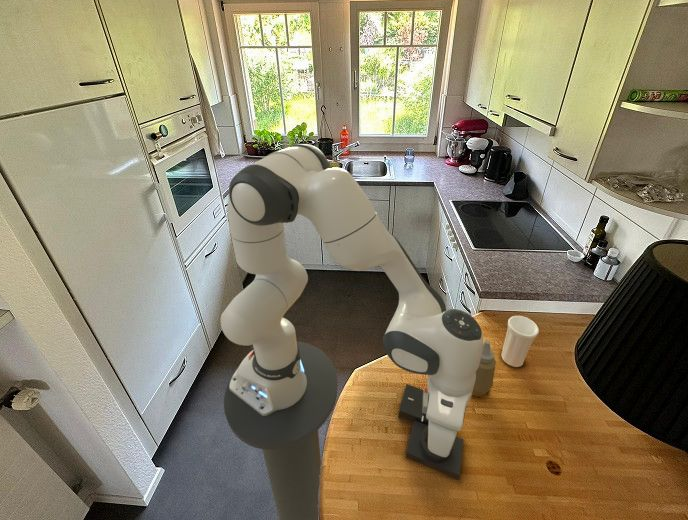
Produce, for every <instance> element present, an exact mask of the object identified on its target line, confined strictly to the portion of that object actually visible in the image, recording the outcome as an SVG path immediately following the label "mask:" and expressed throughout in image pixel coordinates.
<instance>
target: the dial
mask: <svg viewBox="0 0 688 520" xmlns="http://www.w3.org/2000/svg"><path fill="white" fill-rule="evenodd" d="M423 390H424V391H423V409H422V413H423V414H427V412H426V411H427V404H428V389H427V388H426V387H424V388H423Z"/></svg>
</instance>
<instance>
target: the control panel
mask: <svg viewBox="0 0 688 520" xmlns="http://www.w3.org/2000/svg"><path fill="white" fill-rule="evenodd" d="M423 391H424V388H419V387H417V386H414V385H411V384H408V383H406V384H405V387H404V391H403V395H402V399H401V402H400V406H399V410H398V418H399V419H402V420H405V421H407V422H410V423H412V424H413V421H414V420H415V421H418V422H420V423H423V424H425V425H428V424H429V420H428V419H427V418H426V414H423V413H422V409H423Z"/></svg>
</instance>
